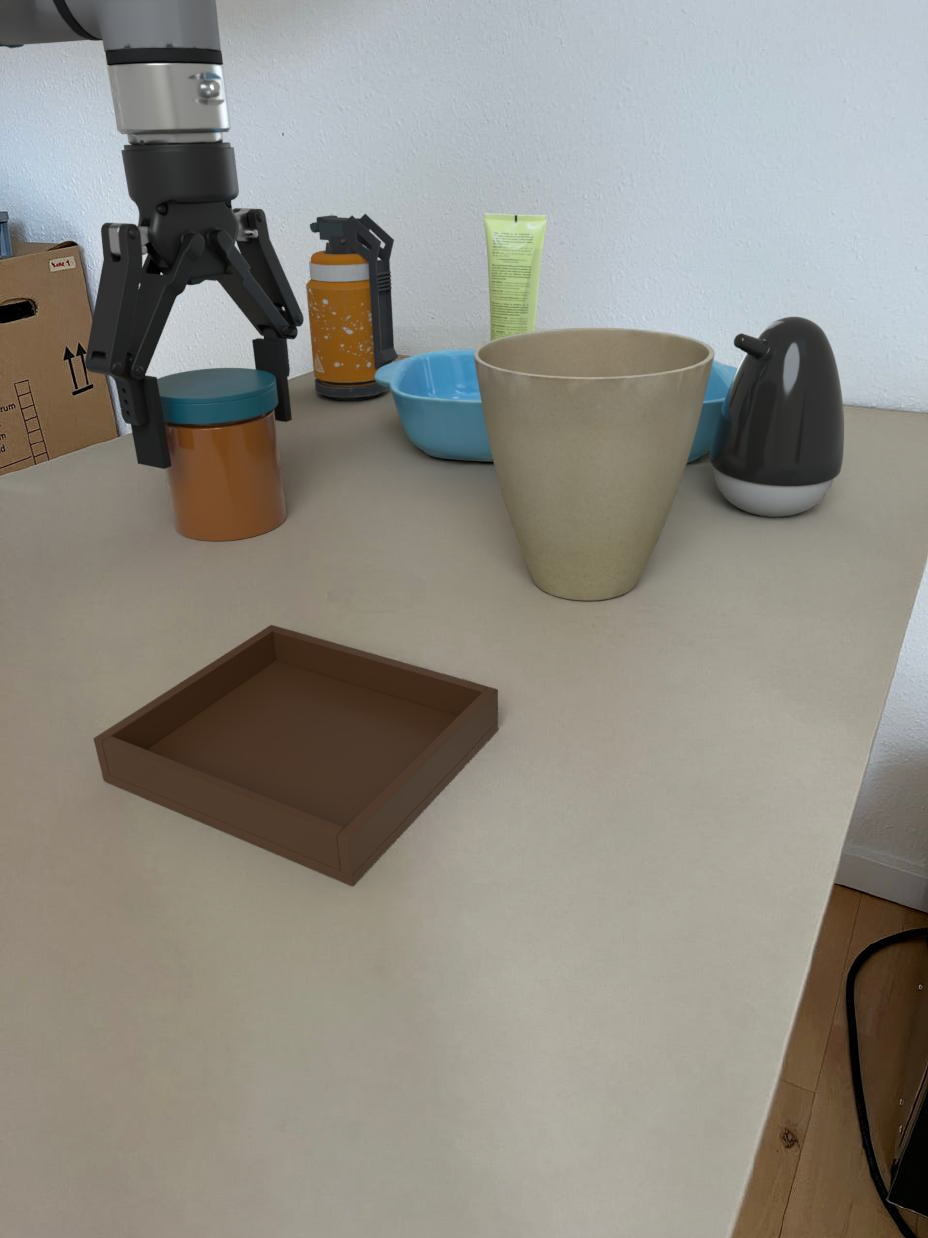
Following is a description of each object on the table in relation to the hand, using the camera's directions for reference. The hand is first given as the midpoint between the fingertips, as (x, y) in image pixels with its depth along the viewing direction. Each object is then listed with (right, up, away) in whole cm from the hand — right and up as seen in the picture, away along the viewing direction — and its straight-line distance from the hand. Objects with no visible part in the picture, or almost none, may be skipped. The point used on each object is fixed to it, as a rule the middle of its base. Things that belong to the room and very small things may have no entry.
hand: (220, 440), depth 74 cm
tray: (+11, -21, -26) cm, 35 cm away
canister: (+7, +13, +38) cm, 41 cm away
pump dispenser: (+45, -5, +4) cm, 45 cm away
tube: (+25, +14, +40) cm, 49 cm away
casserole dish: (+29, +4, +21) cm, 36 cm away
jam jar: (0, -6, +3) cm, 7 cm away
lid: (0, +4, -2) cm, 4 cm away
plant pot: (+28, -11, -8) cm, 31 cm away
